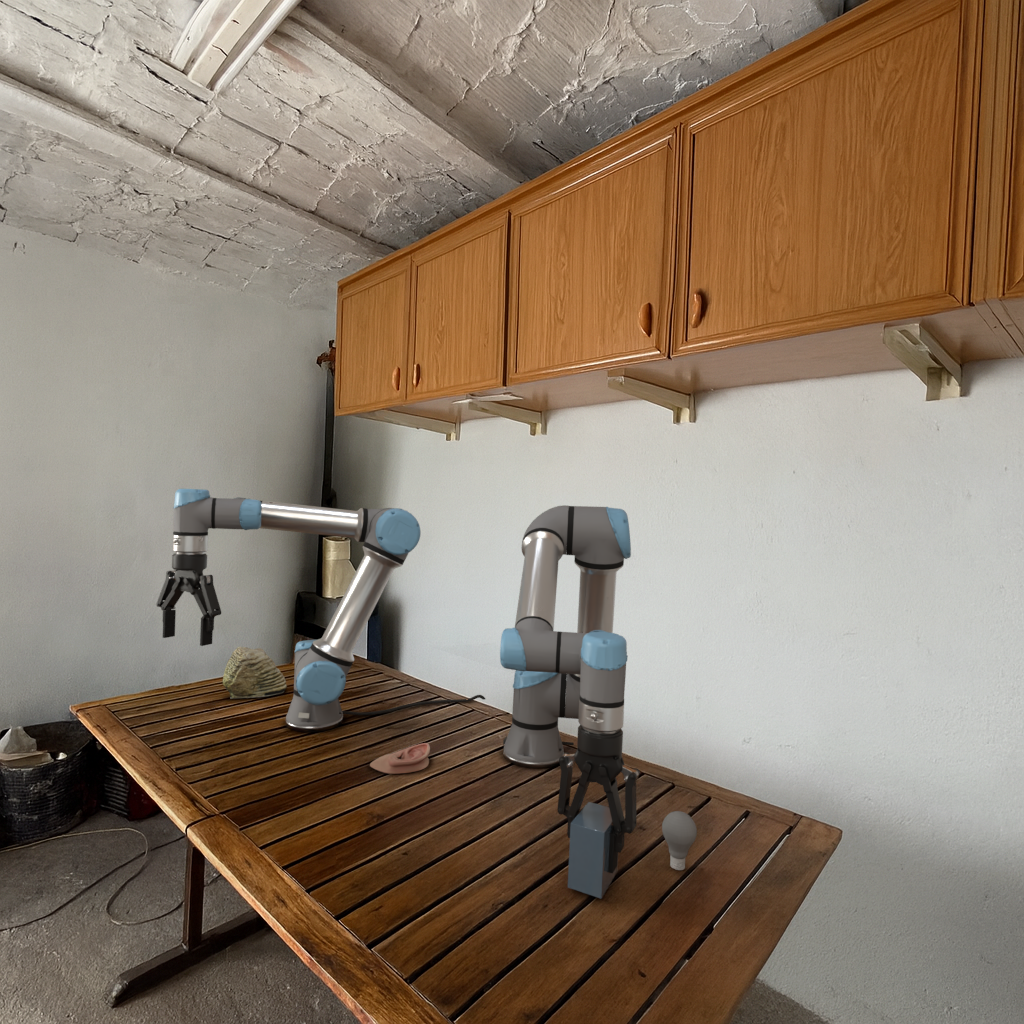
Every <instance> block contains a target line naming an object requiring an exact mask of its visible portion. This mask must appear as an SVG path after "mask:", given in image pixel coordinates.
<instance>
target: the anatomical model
mask: <svg viewBox="0 0 1024 1024" xmlns="http://www.w3.org/2000/svg"><path fill="white" fill-rule="evenodd" d="M430 751H431V745H430V744H429V743H427V742H424V743H423V742H422V743H419V744H415V745H412V746H408V747H406V748H403V749H401V750H397V751H395V752H392V753H387V754H384V755H382V756H380V757H377V758H376V759H374V760H373V761H371V762H370V763H369V767H370V768H372V769H373V770H375V771H378V772H380V773H384V774H389V775H390V774H391V775H392V774H395V775H396V774H409V773H414V772H418V771H421V770H424V769H426V768H427V767H429V764H430V759H429V755H430Z"/></svg>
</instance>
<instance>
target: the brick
mask: <svg viewBox="0 0 1024 1024" xmlns="http://www.w3.org/2000/svg"><path fill="white" fill-rule="evenodd" d="M613 828H614V826H613V822H612V818H611V813H610V809H609V806H606V805H603V804H599V803H595V802H592V801H587V803H586V804H585V805H584V807H583V808H582V809H580V812H579V814H578V815H577V816H576V817H575V819H574V820H573V821H572V822H571V826H570V838H569V846H568V847H569V849H568V871H567V888H568V889H571V890H574V891H577V892H579V893H582V894H586V895H588V896H592V897H595V898H598V899H600V900H602V899H603V897H604V895H605V893H606V892H607V890H608V888H609V886H610V885H611V883H612V881H613V880H614V878H615V876H616V875H617V873H618V867H619V866H618V865H619V862H618V863H617V867H616V869H615V870H614V872H613V874H612V873H609V872H608V866H609V845H610V833H611V831H612V830H613Z"/></svg>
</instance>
